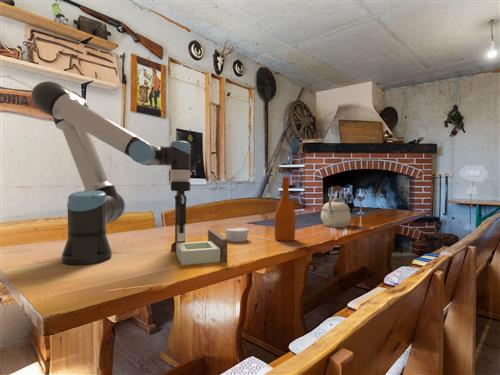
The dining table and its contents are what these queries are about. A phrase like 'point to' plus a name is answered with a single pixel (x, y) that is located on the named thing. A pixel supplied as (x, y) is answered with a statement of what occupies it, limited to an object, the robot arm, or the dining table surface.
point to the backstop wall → (219, 243)
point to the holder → (197, 252)
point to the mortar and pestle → (173, 247)
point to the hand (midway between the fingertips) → (180, 239)
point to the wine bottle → (285, 216)
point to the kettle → (335, 211)
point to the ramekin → (237, 234)
